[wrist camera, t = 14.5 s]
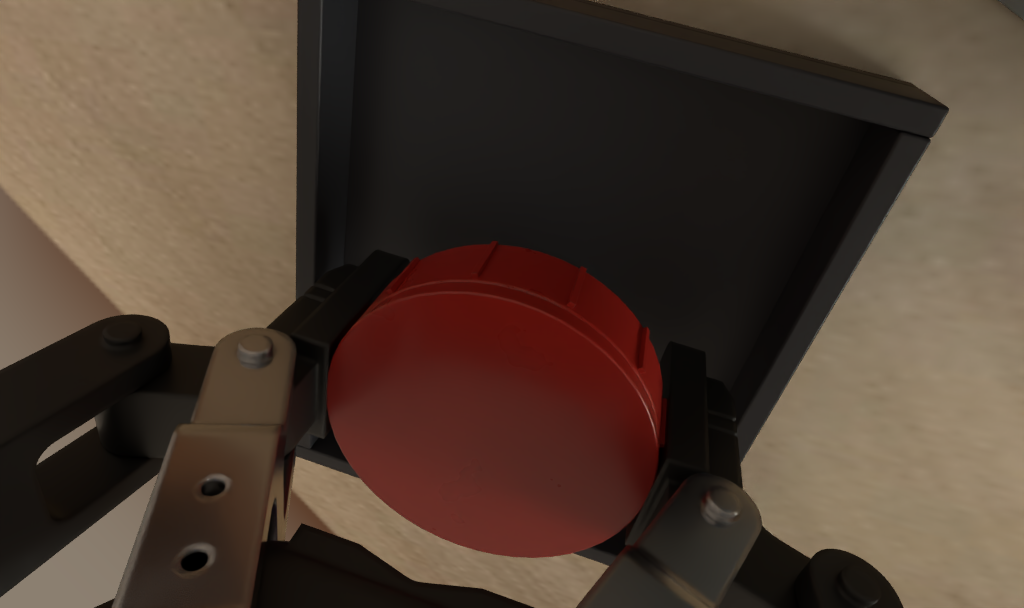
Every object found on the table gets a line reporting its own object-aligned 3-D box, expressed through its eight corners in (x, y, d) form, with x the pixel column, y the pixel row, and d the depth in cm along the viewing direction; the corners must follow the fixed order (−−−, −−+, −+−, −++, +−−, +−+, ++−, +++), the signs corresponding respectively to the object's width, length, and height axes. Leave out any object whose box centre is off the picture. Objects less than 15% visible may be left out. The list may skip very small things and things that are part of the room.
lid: (491, 173, 10) (456, 215, 8) (733, 403, 11) (739, 475, 9) (317, 360, 13) (270, 414, 11) (519, 525, 14) (499, 594, 12)
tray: (670, 527, 18) (668, 587, 16) (328, 411, 19) (293, 456, 18) (913, 83, 11) (951, 108, 9) (350, -61, 12) (296, -61, 11)
